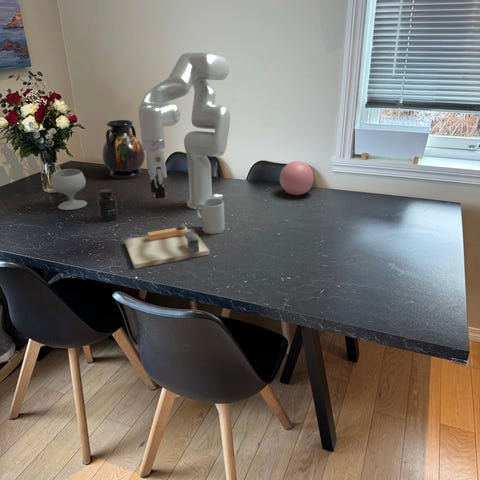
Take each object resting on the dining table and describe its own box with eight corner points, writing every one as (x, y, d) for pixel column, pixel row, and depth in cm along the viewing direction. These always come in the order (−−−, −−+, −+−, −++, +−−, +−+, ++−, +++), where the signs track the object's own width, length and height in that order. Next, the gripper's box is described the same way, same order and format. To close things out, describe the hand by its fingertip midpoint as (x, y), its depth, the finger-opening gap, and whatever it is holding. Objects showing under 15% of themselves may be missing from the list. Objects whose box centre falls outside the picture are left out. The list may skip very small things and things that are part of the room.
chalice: (57, 213, 178) (50, 179, 172) (54, 203, 190) (47, 170, 183) (92, 208, 184) (86, 174, 178) (86, 198, 195) (81, 166, 189)
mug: (229, 228, 163) (228, 200, 158) (216, 235, 156) (215, 207, 152) (203, 221, 169) (202, 195, 164) (190, 229, 162) (188, 202, 158)
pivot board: (192, 232, 160) (191, 217, 157) (209, 254, 143) (209, 238, 141) (124, 243, 151) (122, 228, 149) (134, 268, 134) (132, 252, 132)
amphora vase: (125, 183, 215) (118, 127, 203) (96, 177, 226) (88, 123, 214) (155, 173, 232) (149, 120, 220) (127, 167, 242) (120, 117, 230)
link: (185, 230, 157) (185, 225, 156) (188, 234, 153) (188, 229, 153) (147, 236, 152) (147, 231, 151) (149, 241, 149) (149, 236, 148)
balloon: (318, 188, 205) (321, 156, 198) (307, 201, 188) (309, 167, 182) (288, 184, 210) (289, 154, 204) (274, 197, 194) (275, 164, 187)
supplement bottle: (113, 222, 169) (109, 193, 164) (97, 221, 170) (93, 192, 165) (121, 216, 175) (117, 188, 170) (106, 215, 176) (101, 187, 171)
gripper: (170, 148, 138) (174, 201, 146) (158, 138, 152) (163, 186, 160) (147, 150, 135) (152, 204, 143) (137, 140, 150) (143, 189, 158)
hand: (158, 194), depth 151 cm, fingers open, 6 cm apart
